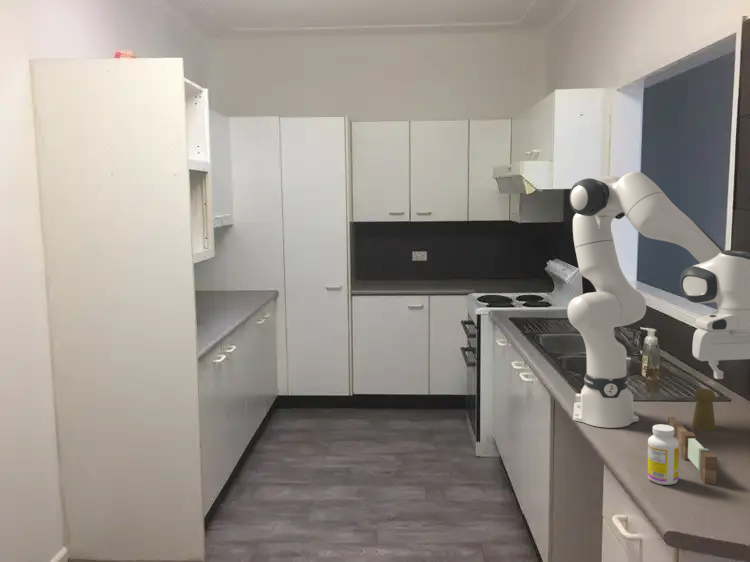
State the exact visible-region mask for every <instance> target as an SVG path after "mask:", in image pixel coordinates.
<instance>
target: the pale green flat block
mask: <svg viewBox="0 0 750 562" xmlns="http://www.w3.org/2000/svg"><path fill="white" fill-rule="evenodd" d="M702 452H710V450H709V449H708V448H705V447H704V446H703V445H702V444H701V443H700V442H699V441H698V440H697V439H695V438H688V458H689V459H690V460H689V461H690V462H691V463H692V464H693V466H695V468H697V470H698V472H699V473H700V474H701V454H702Z"/></svg>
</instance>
